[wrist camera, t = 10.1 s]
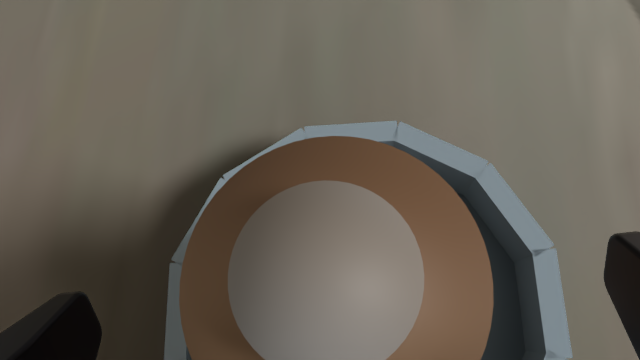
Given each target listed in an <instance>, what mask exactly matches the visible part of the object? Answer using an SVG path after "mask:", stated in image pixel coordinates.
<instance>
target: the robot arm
mask: <svg viewBox="0 0 640 360" xmlns="http://www.w3.org/2000/svg"><path fill="white" fill-rule="evenodd" d="M604 282H605V286H606V289H607V291H608V293H609V295H610V297H611V300H612V302H613V304H614V306H615V308H616V310H617V313H618V315H619V317H620V319H621V321H622V323H623V325H624V328H625V330H626V332H627V334H628V336H629V338H630V341H631V343H632V345H633V347H634V349H635V351H636V353H637V356H638V358H639V360H640V232H626V233H617V234H614V235H612V236H611V237H610V239H609V242H608V247H607V254H606V261H605V269H604ZM101 336H102V331H101V326H100V323H99V321H98V318H97V316H96V314H95V312H94V310H93V307H92V305H91V303H90V301H89V299H88V297H87V295H86V294H85V293H83V292H80V291H78V292H68V293H61V294H58V295H56V296H55V297H53V298H52V299H50V300H49V301H47V302H46V303H44V304H43V305H41V306H40V307H39V308H37V309H36V310H34V311H33V312H31V313H30V314H28V315H27V316H25V317H24V318H22V319H21V320H19V321H18V322H16V323H15V324H13V325H12V326H10V327H9V328H8V329H6V330H5V331H3V332H2V333H0V360H96V357H97V353H98V349H99V346H100V342H101Z"/></svg>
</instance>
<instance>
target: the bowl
mask: <svg viewBox="0 0 640 360" xmlns="http://www.w3.org/2000/svg"><path fill="white" fill-rule="evenodd" d="M325 136H351V137H357V138H364V139H370V140H373V141H377V142H381V143H384V144H388V145H390V146H392V147H395V148H397V149H399V150H402V151H404V152H406V153H408V154H410V155H411V156H413V157H415V158H417V159H418V160H420V161H422V162H423V163H425V164H426V165H427V166H429V167H430V168H431V169H432V170H434V171H435V172H436V173H438V174H439V175H440V176H441V177H442V178H443V179H444V180H445V181H446V182H447V183H448V184H449V185H450V186H451V187H452V188H453V189H454V190H455V192H456V193H457V194H458V196H459V197H460V198H461V199H462V201H463V202H464V203H465V205H466V206H467V208H468V210H469V211H470V213H471V215H472V216H473V218H474V220H475V221H476V224H477V226H478V228H479V230H480V233H481V235H482V237H483V240H484V242H485V246H486V249H487V253H488V256H489V260H490V265H491V272H492V278H493V302H494V305H493V314H492V322H491V328H490V332H489V336H488V340H487V344H486V348H485V350H484V353H483V355H482V358H481V360H567V359H565V358H573V357H572V350H571V344H570V337H569V330H568V324H567V317H566V311H565V304H564V298H563V291H562V285H561V278H560V272H559V265H558V258H557V252H556V249H549V248H550V247H552V246H553V245H554V244H553V243H552V241H551V240H550V239H549V237H548V236H547V235H546V234H545V232H544V231H543V230H542V228H541V227H540V226H539V224H538V223H537V222H536V221H535V219H534V218H533V217H532V215H531V214H530V213H529V212H528V210H527V209H526V208H525V206H524V205H523V204H522V202H521V201H520V200H519V199H518V197H517V196H516V195H515V193H514V192H513V191H512V190H511V188H510V187H509V186H508V184H507V183H506V182H505V181H504V179H503V178H502V177H501V175H500V174H499V173H498V171H497V170H496V169H495V168H494V166H493V165H492V164H491V163H490V164H489V165H487V163H488V161H487V160H485V159H483V158H481V157H478V156H476V155H474V154H472V153H469V152H467V151H465V150H463V149H461V148H458V147H456V146H454V145H452V144H449V143H447V142H445V141H443V140H441V139H438V138H436V137H434V136H432V135H429V134H427V133H425V132H423V131H421V130H418V129H416V128H414V127H412V126H409V125H407V124H405V123H403V122H401V121H400V123H399V125H398V127H397V121H384V122H368V123H352V124H336V125H320V126H305V132H304V131H303V129H302V128H300V129H298V130H296V131H295V132H293V133H292V134H290V135H288V136H287V137H285V138H283V139H282V140H280V141H278V142H277V143H275V144H273V145H272V146H270V147H268V148H267V149H265V150H264V151H262V152H260V153H259V154H257V155H255V156H254V157H252V158H250V159H249V160H247V161H245V162H244V163H242V164H241V165H239V166H237V167H236V168H234V169H232V170H231V171H229V172H227V173H226V174H224V175H223V177H224V179H225V180H224V179H222V178H220V179H219V181H218V182H217V184H216V186H215V187H214V189H213V191H212V192H211V194H210V196H209V197H208V199H207V201H206V202H205V204H204V206H203V207H202V209H201V211H200V212H199V214H198V216H197V217H196V219H195V220H194V222H193V224H192V225H191V227H190V229H189V230H188V232H187V234H186V235H185V237H184V239H183V240H182V242H181V244H180V245H179V247H178V249H177V250H176V252H175V254H174V255H173V257H172V259H171V260H173V261H174V262H176V263H170V267H169V284H168V300H167V316H166V332H165V349H164V360H192V359H191V356H190V353H189V351H188V348H187V345H186V342H185V337H184V333H183V329H182V325H181V316H180V306H179V291H180V277H181V271H182V264H183V260H184V256H185V252H186V249H187V245H188V242H189V240H190V237H191V235H192V233H193V230H194V228H195V225H196V224H197V222H198V220H199V218H200V216H201V215H202V213H203V211H204V209H205V208H206V206H207V205H208V204H209V202H210V201H211V199H212V198H213V197H214V195H215V194H216V193H217V192H218V191H219V189H220V188H221V187H222V186H223V185H224V184H225V183H226V182H227V181H228V180H229V179H230V178H231V177H232V176H233V175H235V174H236V173H237V172H238V171H239V170H241V169H242V168H243V167H244V166H246V165H247V164H249V163H250V162H252V161H253V160H255V159H256V158H258V157H259V156H261V155H263V154H265V153H267V152H269V151H271V150H273V149H276V148H278V147H281V146H284V145H286V144H289V143H292V142H295V141H300V140H304V139H309V138H314V137H325ZM486 165H487V166H486Z"/></svg>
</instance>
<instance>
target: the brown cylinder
mask: <svg viewBox="0 0 640 360" xmlns="http://www.w3.org/2000/svg"><path fill="white" fill-rule="evenodd" d="M493 305H494V302H493V278H492V272H491V265H490V260H489V256H488V253H487V249H486V246H485V242H484V240H483V237H482V235H481V233H480V230H479V228H478V226H477V224H476V221H475V220H474V218H473V216H472V215H471V213H470V211H469V210H468V208H467V206H466V205H465V203H464V202H463V201H462V199H461V198H460V197H459V196H458V194H457V193H456V192H455V190H454V189H453V188H452V187H451V186H450V185H449V184H448V183H447V182H446V181H445V180H444V179H443V178H442V177H441V176H440V175H439V174H438V173H436V172H435V171H434V170H432V169H431V168H430V167H429V166H427V165H426V164H425V163H423V162H422V161H420V160H418V159H417V158H415V157H413V156H411V155H410V154H408V153H406V152H404V151H402V150H399V149H397V148H395V147H392V146H390V145H388V144H384V143H381V142H377V141H373V140H370V139H364V138H357V137H351V136H325V137H314V138H309V139H304V140H300V141H295V142H292V143H289V144H286V145H284V146H281V147H278V148H276V149H273V150H271V151H269V152H267V153H265V154H263V155H261V156H259V157H258V158H256V159H255V160H253V161H252V162H250V163H249V164H247V165H246V166H244V167H243V168H242V169H241V170H239V171H238V172H237V173H236V174H235V175H233V176H232V177H231V178H230V179H229V180H228V181H227V182H226V183H225V184H224V185H223V186H222V187H221V188H220V189H219V191H218V192H217V193H216V194H215V195H214V197H213V198H212V199H211V201H210V202H209V204H208V205H207V206H206V208H205V209H204V211H203V213H202V215H201V216H200V218H199V220H198V222H197V224H196V225H195V228H194V230H193V233H192V235H191V237H190V240H189V242H188V245H187V249H186V252H185V256H184V260H183V264H182V271H181V277H180V291H179V306H180V316H181V325H182V329H183V333H184V337H185V342H186V345H187V348H188V351H189V353H190V356H191V359H192V360H481V358H482V355H483V353H484V350H485V348H486V344H487V340H488V336H489V332H490V328H491V322H492V314H493Z"/></svg>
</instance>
